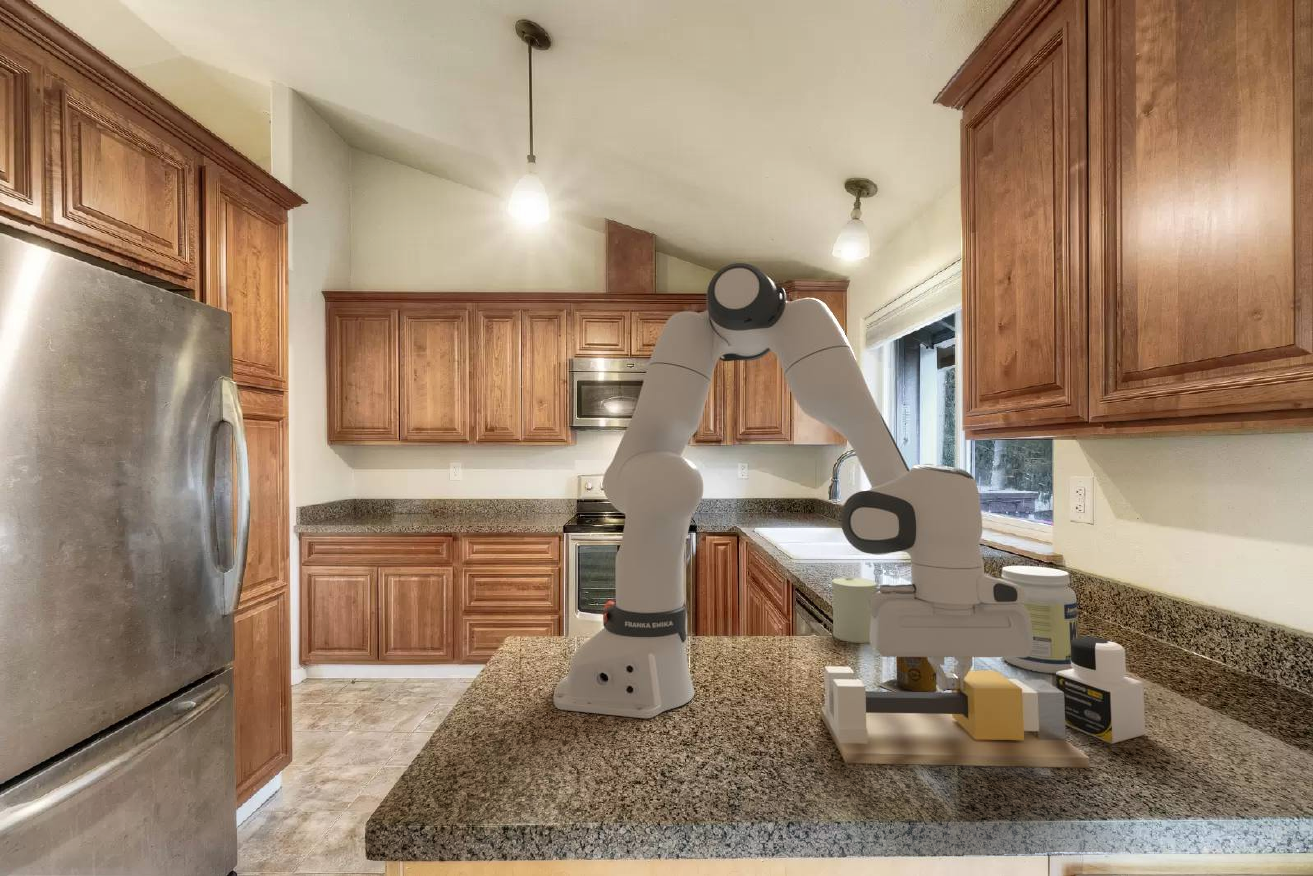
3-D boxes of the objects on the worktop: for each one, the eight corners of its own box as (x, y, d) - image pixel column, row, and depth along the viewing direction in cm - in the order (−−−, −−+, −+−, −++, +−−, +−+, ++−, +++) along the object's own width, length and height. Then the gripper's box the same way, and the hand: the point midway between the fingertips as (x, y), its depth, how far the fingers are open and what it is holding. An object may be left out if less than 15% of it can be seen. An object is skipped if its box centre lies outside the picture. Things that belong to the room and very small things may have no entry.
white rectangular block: (1023, 730, 73) (1021, 692, 74) (1002, 714, 78) (1001, 678, 78) (1039, 731, 73) (1037, 692, 74) (1017, 714, 78) (1016, 678, 78)
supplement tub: (1085, 680, 96) (1080, 579, 97) (1000, 668, 102) (997, 573, 103) (1074, 658, 107) (1070, 567, 108) (998, 649, 113) (995, 562, 114)
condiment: (948, 689, 93) (946, 614, 94) (918, 701, 89) (916, 623, 89) (907, 675, 99) (905, 605, 100) (877, 686, 95) (875, 613, 95)
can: (867, 629, 127) (865, 574, 127) (886, 642, 117) (884, 583, 118) (826, 630, 126) (825, 575, 127) (842, 643, 117) (841, 584, 117)
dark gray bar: (837, 712, 76) (836, 697, 76) (833, 706, 78) (833, 691, 78) (1039, 715, 75) (1038, 699, 75) (1030, 708, 77) (1029, 693, 77)
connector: (1038, 740, 73) (1036, 692, 74) (1018, 724, 78) (1017, 679, 78) (1066, 740, 73) (1064, 692, 74) (1044, 724, 78) (1042, 679, 78)
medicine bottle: (1056, 722, 81) (1053, 636, 82) (1090, 714, 84) (1086, 630, 84) (1112, 745, 74) (1107, 651, 75) (1146, 735, 77) (1142, 645, 77)
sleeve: (975, 739, 73) (973, 688, 73) (952, 717, 79) (950, 670, 80) (1024, 740, 73) (1022, 688, 73) (996, 717, 79) (995, 670, 79)
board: (845, 763, 71) (845, 753, 71) (821, 716, 84) (820, 708, 84) (1089, 767, 69) (1089, 757, 69) (1026, 719, 82) (1026, 711, 82)
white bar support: (839, 743, 73) (838, 687, 73) (824, 715, 81) (823, 665, 81) (867, 743, 73) (866, 687, 73) (850, 716, 81) (848, 665, 81)
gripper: (876, 589, 75) (879, 697, 74) (1038, 589, 73) (1042, 699, 73) (861, 579, 81) (864, 679, 80) (1010, 579, 80) (1014, 680, 79)
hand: (950, 689), depth 77 cm, fingers closed
